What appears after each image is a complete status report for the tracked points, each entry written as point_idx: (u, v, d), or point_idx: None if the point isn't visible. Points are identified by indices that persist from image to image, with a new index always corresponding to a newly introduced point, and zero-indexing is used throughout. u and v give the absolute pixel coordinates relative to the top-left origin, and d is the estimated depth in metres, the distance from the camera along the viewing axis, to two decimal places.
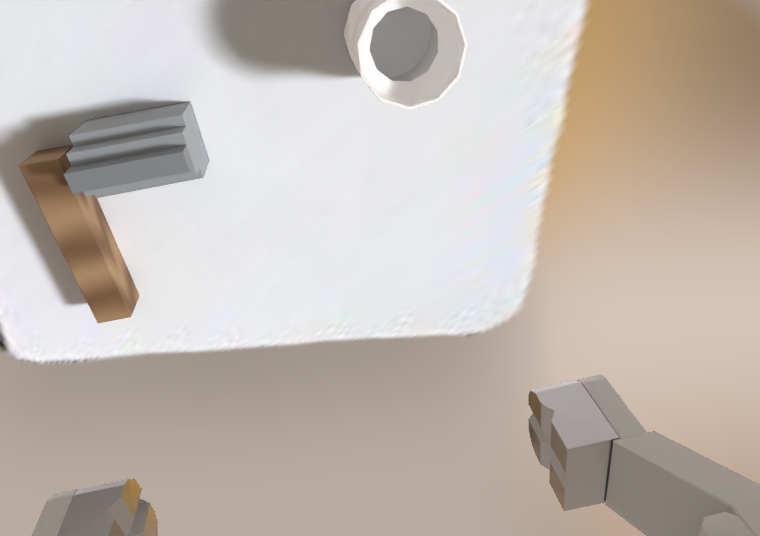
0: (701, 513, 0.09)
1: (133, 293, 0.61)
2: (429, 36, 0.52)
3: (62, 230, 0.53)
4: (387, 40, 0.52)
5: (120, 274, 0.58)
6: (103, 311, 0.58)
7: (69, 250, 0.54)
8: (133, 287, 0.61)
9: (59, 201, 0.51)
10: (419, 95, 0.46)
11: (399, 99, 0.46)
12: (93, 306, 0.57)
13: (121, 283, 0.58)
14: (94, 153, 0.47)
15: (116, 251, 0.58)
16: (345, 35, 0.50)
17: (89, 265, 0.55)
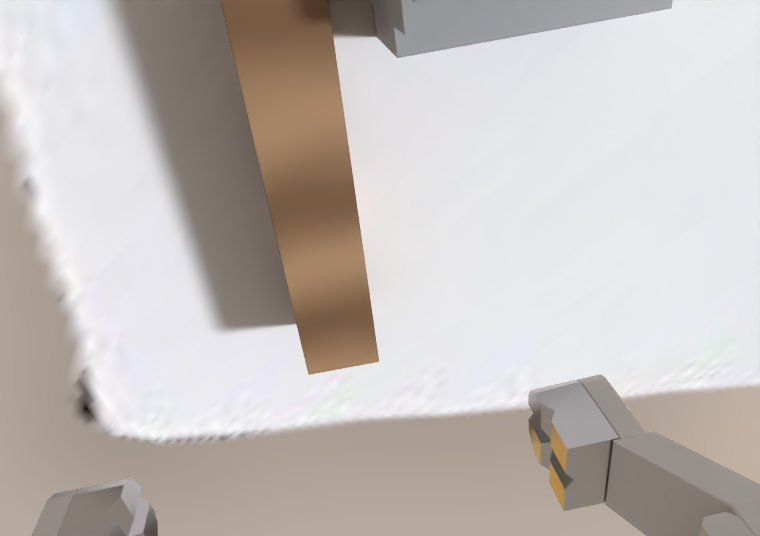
0: (701, 513, 0.09)
1: None
2: None
3: (281, 153, 0.21)
4: None
5: None
6: (326, 350, 0.26)
7: (287, 205, 0.22)
8: None
9: (293, 68, 0.19)
10: None
11: None
12: (308, 338, 0.25)
13: None
14: None
15: None
16: None
17: (322, 245, 0.23)
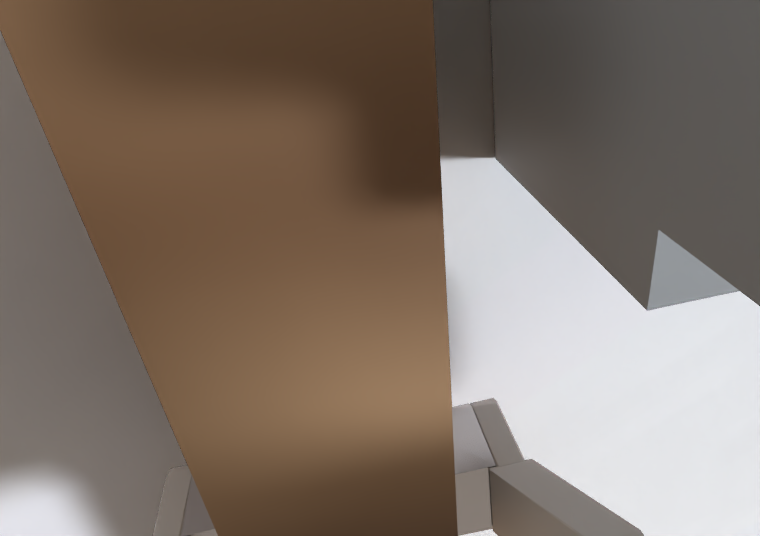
0: None
1: None
2: None
3: (280, 513, 0.08)
4: None
5: None
6: None
7: None
8: None
9: (316, 336, 0.06)
10: None
11: None
12: None
13: None
14: None
15: None
16: None
17: None
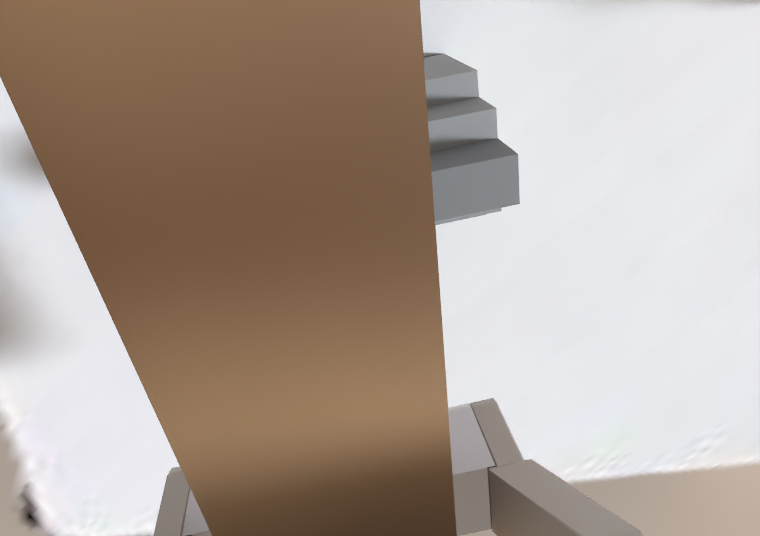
0: None
1: None
2: None
3: (278, 521, 0.08)
4: None
5: None
6: None
7: None
8: None
9: (310, 346, 0.06)
10: None
11: None
12: None
13: None
14: None
15: None
16: None
17: None
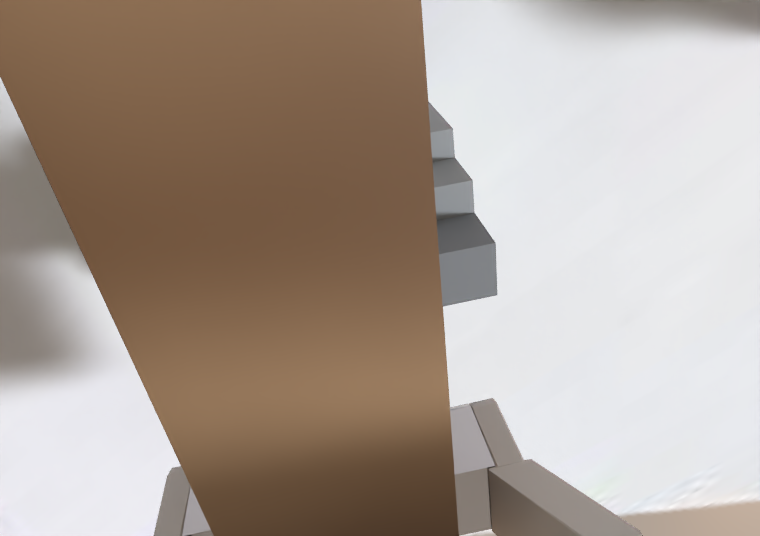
0: None
1: None
2: None
3: (280, 522, 0.08)
4: None
5: None
6: None
7: None
8: None
9: (312, 346, 0.06)
10: None
11: None
12: None
13: None
14: None
15: None
16: None
17: None
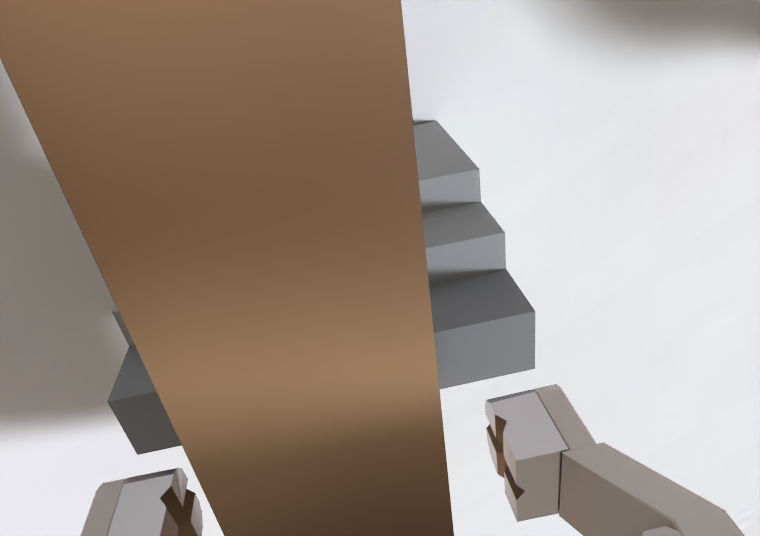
0: (645, 527, 0.08)
1: None
2: None
3: (277, 500, 0.08)
4: None
5: None
6: None
7: None
8: None
9: (305, 326, 0.07)
10: None
11: None
12: None
13: None
14: None
15: None
16: None
17: None
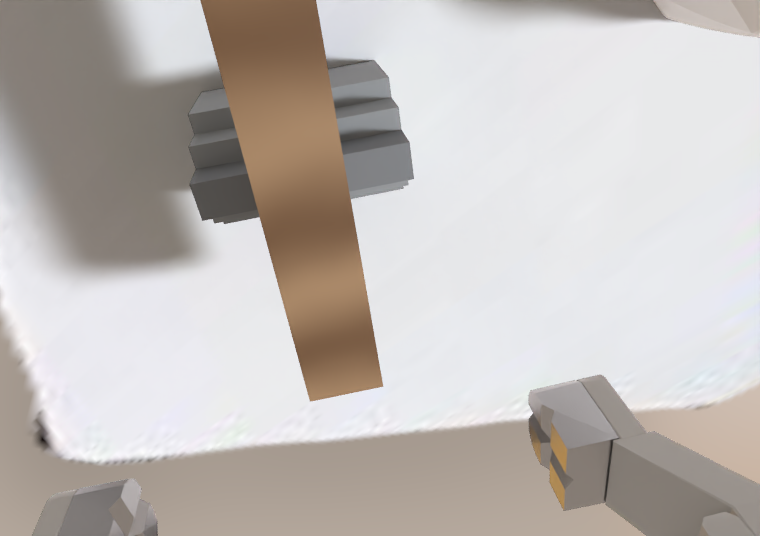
0: (701, 514, 0.09)
1: None
2: None
3: (275, 177, 0.20)
4: None
5: None
6: (328, 376, 0.25)
7: (283, 229, 0.21)
8: None
9: (284, 89, 0.18)
10: None
11: None
12: (309, 365, 0.24)
13: None
14: (239, 145, 0.26)
15: None
16: None
17: (320, 269, 0.22)
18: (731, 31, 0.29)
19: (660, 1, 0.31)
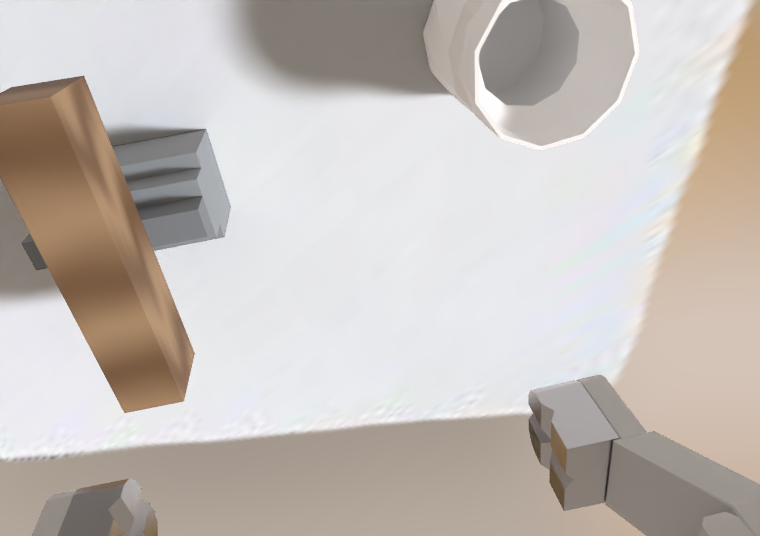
0: (701, 513, 0.09)
1: (185, 354, 0.34)
2: (540, 39, 0.38)
3: (59, 248, 0.26)
4: None
5: (165, 324, 0.32)
6: (135, 393, 0.32)
7: (73, 285, 0.28)
8: (185, 343, 0.35)
9: (53, 188, 0.25)
10: (546, 126, 0.31)
11: (519, 133, 0.31)
12: (117, 385, 0.31)
13: (168, 341, 0.32)
14: None
15: (158, 283, 0.32)
16: (427, 37, 0.36)
17: (110, 313, 0.29)
18: None
19: None
